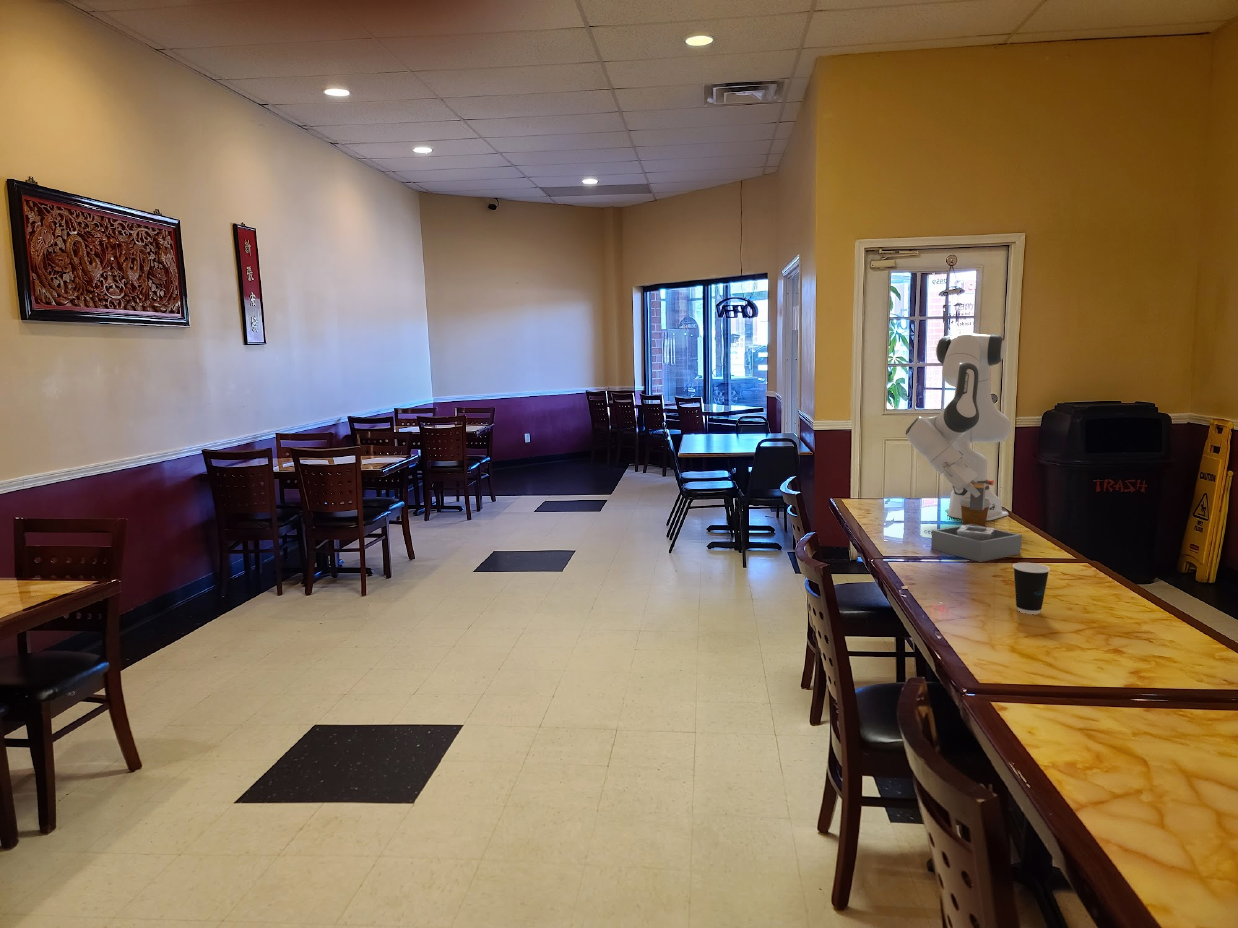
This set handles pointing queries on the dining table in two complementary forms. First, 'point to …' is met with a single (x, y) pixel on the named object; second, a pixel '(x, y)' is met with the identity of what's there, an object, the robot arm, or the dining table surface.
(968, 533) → the inlet socket
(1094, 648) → the dining table surface
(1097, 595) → the dining table surface
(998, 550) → the walled box
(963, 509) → the disposable coffee cup
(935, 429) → the robot arm
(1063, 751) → the dining table surface
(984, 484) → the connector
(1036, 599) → the dixie cup
